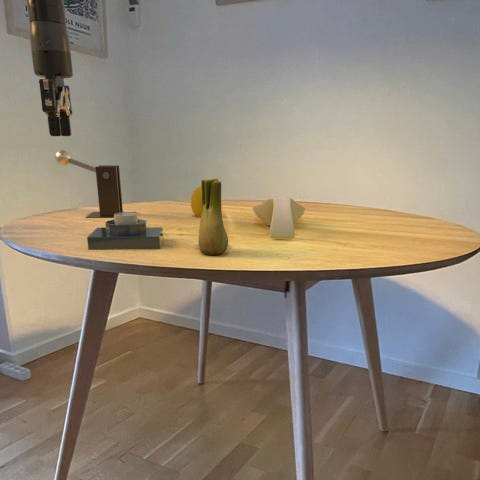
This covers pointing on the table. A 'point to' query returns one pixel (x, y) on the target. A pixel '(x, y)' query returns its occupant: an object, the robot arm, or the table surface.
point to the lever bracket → (108, 191)
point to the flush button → (125, 218)
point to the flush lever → (71, 161)
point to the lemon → (197, 201)
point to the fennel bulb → (212, 219)
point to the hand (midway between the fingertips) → (61, 136)
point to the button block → (125, 236)
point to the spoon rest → (279, 216)
